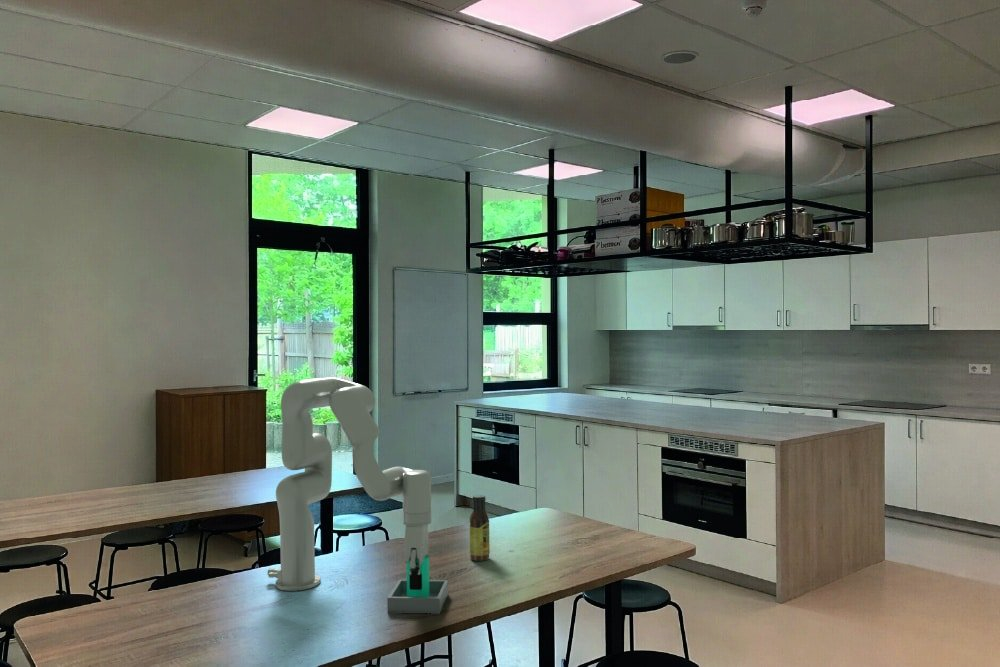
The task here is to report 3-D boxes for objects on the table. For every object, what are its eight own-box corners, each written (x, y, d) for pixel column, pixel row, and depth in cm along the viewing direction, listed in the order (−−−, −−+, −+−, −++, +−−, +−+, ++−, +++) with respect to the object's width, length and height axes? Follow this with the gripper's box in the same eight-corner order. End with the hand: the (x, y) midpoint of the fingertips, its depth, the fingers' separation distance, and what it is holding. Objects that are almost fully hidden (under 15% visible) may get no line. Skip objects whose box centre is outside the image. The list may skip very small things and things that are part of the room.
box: (387, 613, 189) (387, 597, 189) (399, 594, 202) (399, 579, 202) (439, 614, 188) (439, 598, 188) (448, 594, 201) (447, 580, 201)
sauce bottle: (487, 562, 228) (486, 498, 228) (467, 561, 230) (466, 498, 230) (491, 556, 235) (490, 494, 235) (472, 555, 236) (471, 493, 236)
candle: (420, 601, 191) (419, 555, 191) (402, 597, 194) (401, 552, 194) (434, 594, 196) (433, 549, 196) (416, 590, 199) (415, 546, 199)
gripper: (409, 509, 204) (410, 574, 204) (396, 525, 187) (396, 597, 187) (436, 509, 203) (437, 575, 203) (425, 526, 186) (425, 597, 186)
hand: (417, 584), depth 195 cm, fingers closed on candle, 4 cm apart
